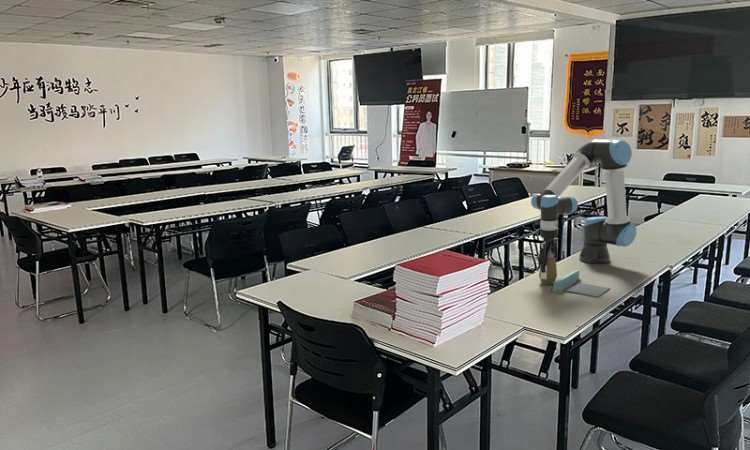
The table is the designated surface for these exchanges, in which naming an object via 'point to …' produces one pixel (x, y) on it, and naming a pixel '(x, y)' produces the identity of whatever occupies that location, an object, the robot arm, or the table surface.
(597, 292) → the mat
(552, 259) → the squeeze bottle
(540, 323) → the table surface
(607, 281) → the table surface
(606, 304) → the table surface
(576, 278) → the fence
